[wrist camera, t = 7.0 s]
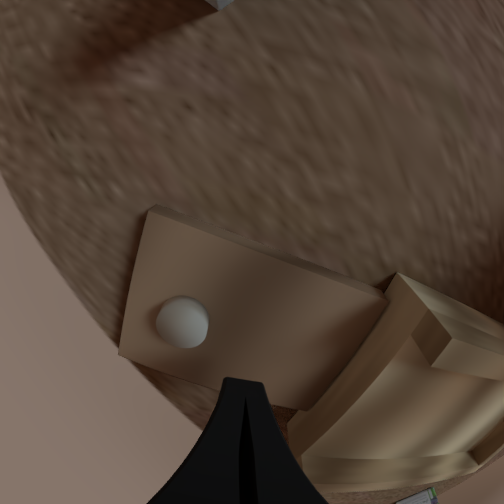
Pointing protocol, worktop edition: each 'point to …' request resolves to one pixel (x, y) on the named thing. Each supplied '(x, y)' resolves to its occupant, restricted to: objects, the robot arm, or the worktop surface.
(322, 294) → the lid plate
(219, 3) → the arched grey pull
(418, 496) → the syrup box
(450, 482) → the worktop surface
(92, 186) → the worktop surface
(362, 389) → the oak box
